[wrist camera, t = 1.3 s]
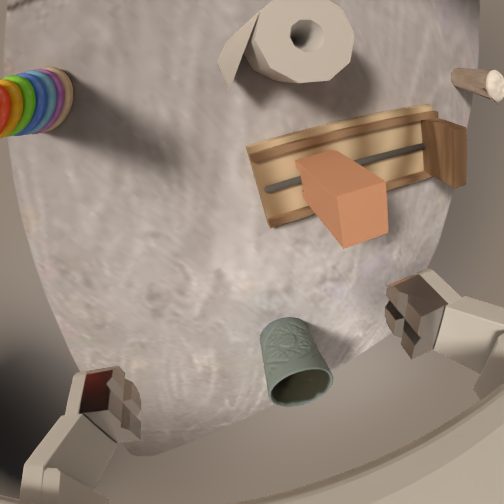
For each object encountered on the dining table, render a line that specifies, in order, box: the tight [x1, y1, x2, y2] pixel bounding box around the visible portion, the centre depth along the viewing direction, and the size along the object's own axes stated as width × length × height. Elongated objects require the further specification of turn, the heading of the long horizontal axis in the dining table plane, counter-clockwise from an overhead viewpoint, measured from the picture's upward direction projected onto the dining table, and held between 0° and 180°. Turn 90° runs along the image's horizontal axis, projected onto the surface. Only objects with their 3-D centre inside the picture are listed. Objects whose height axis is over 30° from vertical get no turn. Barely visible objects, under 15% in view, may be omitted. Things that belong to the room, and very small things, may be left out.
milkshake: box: [451, 68, 504, 105], centre depth 30 cm, size 4×5×10 cm
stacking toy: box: [0, 67, 73, 138], centre depth 19 cm, size 8×8×19 cm
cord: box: [264, 143, 426, 193], centre depth 37 cm, size 24×1×1 cm, turn 106°
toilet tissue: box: [217, 0, 355, 90], centre depth 26 cm, size 9×13×9 cm
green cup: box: [260, 317, 333, 407], centre depth 48 cm, size 10×10×12 cm
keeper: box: [295, 150, 388, 249], centre depth 32 cm, size 5×6×12 cm
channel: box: [246, 104, 467, 229], centre depth 35 cm, size 27×11×8 cm, turn 106°
